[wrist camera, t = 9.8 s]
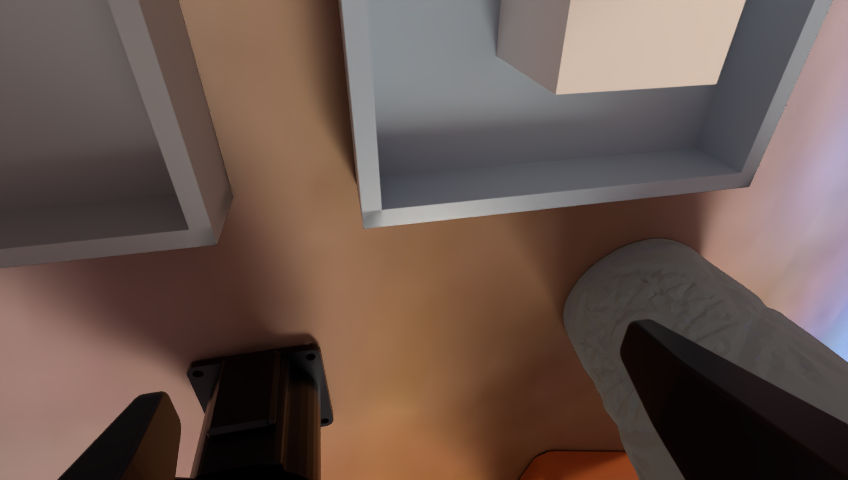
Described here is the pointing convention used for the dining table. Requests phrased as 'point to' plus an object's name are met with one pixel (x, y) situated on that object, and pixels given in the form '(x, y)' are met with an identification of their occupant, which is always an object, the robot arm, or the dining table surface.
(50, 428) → the dining table surface
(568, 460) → the whiskey bottle
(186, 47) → the bin
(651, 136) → the bin
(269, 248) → the dining table surface
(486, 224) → the dining table surface
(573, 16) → the smooth beige block
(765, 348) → the grey cylinder
